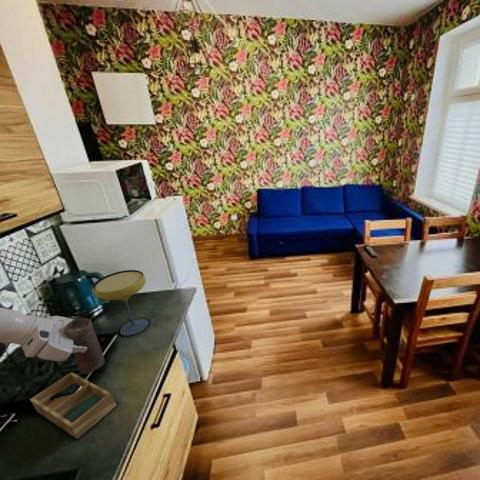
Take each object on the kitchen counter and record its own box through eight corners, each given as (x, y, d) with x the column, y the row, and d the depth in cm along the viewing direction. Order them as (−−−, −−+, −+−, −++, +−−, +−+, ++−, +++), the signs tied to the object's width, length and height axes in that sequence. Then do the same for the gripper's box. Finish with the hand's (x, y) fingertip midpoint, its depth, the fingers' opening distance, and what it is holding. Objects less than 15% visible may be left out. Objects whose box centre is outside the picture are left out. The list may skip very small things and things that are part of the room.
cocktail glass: (101, 344, 111) (80, 294, 102) (122, 316, 128) (106, 271, 118) (148, 338, 115) (132, 289, 105) (163, 312, 131) (150, 268, 121)
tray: (36, 411, 85) (29, 399, 83) (77, 383, 94) (71, 371, 92) (77, 439, 78) (70, 426, 75) (116, 405, 87) (111, 393, 85)
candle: (102, 355, 104) (86, 314, 97) (109, 365, 100) (93, 322, 93) (77, 368, 99) (58, 325, 91) (84, 379, 95) (65, 335, 87)
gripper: (36, 322, 93) (82, 333, 103) (24, 360, 78) (78, 368, 88) (49, 307, 94) (93, 319, 104) (40, 342, 79) (92, 352, 89)
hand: (86, 342), depth 96 cm, fingers closed on candle, 7 cm apart
